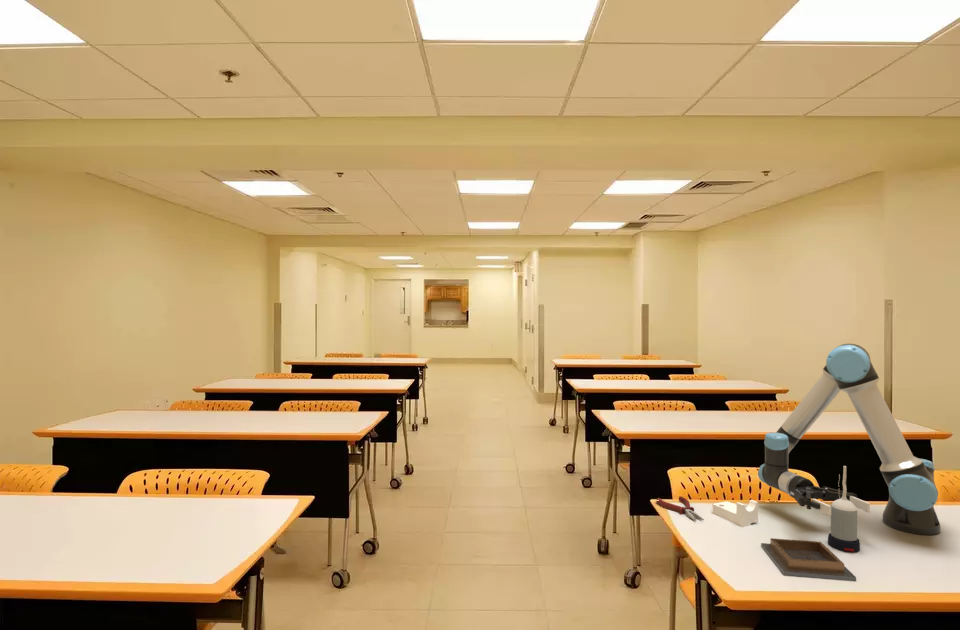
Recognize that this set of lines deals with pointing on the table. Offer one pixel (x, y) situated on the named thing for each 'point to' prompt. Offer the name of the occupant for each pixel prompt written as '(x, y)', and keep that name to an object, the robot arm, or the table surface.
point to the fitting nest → (806, 559)
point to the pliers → (680, 508)
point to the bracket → (737, 512)
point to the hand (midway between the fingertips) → (849, 509)
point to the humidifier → (844, 523)
